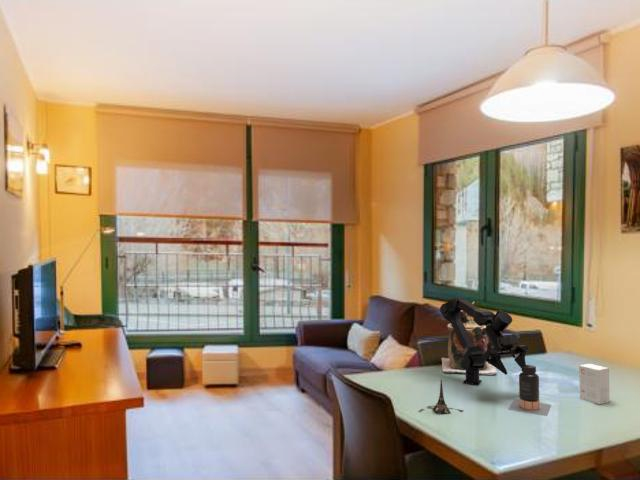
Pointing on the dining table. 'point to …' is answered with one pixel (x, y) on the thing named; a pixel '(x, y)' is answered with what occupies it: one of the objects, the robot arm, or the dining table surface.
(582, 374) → the small box
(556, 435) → the dining table surface
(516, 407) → the slate mat
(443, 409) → the eiffel tower figurine
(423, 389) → the dining table surface
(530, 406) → the terracotta bowl
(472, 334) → the cookie jar
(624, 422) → the dining table surface
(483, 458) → the dining table surface
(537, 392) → the supplement bottle
